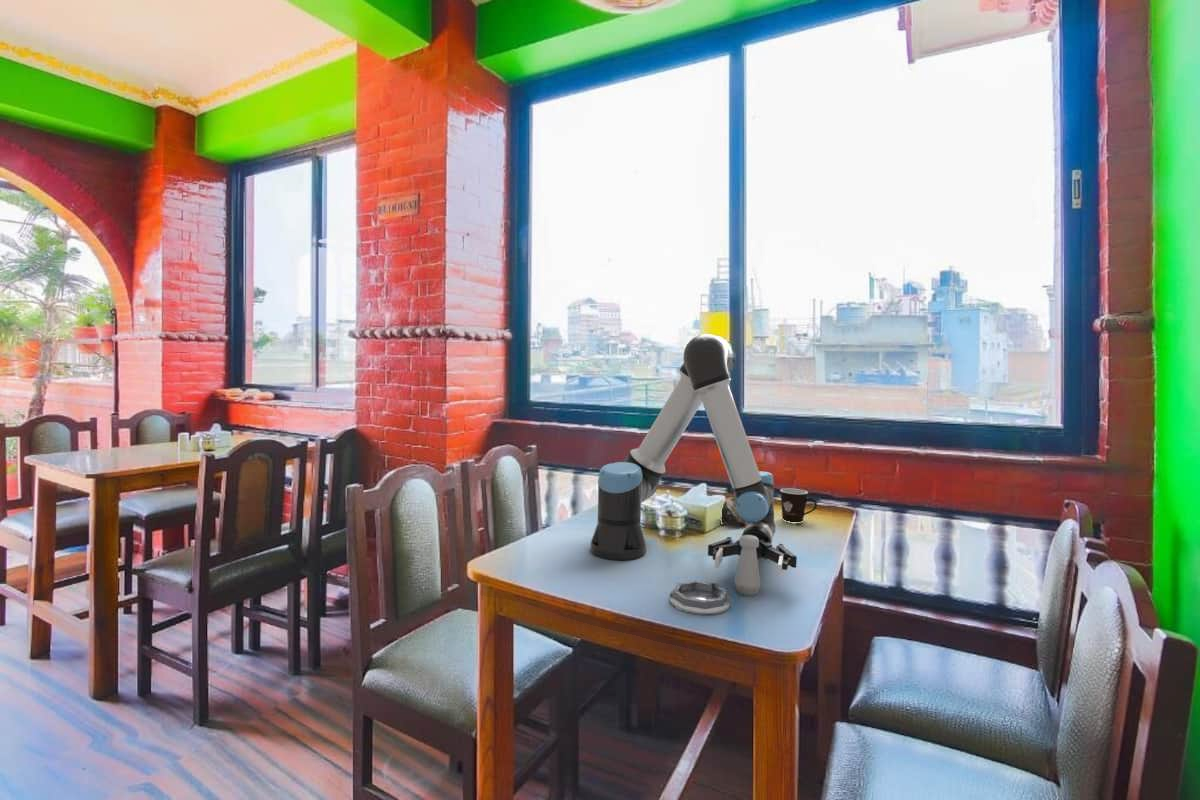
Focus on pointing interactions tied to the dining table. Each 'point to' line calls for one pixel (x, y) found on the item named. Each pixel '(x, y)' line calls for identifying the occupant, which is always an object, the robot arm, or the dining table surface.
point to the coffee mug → (794, 504)
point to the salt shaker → (748, 567)
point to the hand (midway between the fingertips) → (747, 566)
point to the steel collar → (700, 597)
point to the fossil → (731, 512)
